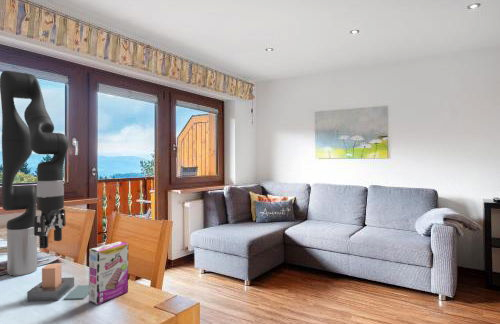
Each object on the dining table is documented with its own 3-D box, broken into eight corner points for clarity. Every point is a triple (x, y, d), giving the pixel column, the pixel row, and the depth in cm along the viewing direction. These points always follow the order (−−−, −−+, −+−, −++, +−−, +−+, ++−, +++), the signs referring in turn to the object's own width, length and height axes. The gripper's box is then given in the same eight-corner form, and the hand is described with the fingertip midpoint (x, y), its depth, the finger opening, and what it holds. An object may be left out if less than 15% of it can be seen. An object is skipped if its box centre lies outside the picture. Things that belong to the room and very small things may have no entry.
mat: (78, 286, 110) (78, 285, 110) (96, 285, 111) (96, 284, 111) (63, 299, 100) (63, 298, 100) (83, 299, 101) (83, 297, 101)
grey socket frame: (46, 286, 110) (46, 278, 110) (74, 286, 111) (74, 277, 111) (27, 301, 99) (27, 292, 99) (57, 300, 100) (57, 291, 100)
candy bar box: (98, 306, 96) (97, 251, 96) (88, 302, 99) (87, 249, 99) (129, 292, 106) (129, 242, 106) (119, 288, 109) (119, 240, 108)
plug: (48, 291, 107) (48, 264, 106) (61, 290, 107) (61, 263, 107) (42, 296, 103) (41, 268, 102) (55, 296, 103) (55, 268, 103)
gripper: (50, 192, 111) (50, 239, 111) (24, 197, 97) (25, 251, 97) (72, 191, 111) (73, 238, 112) (50, 197, 97) (51, 250, 98)
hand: (51, 244), depth 104 cm, fingers open, 8 cm apart
